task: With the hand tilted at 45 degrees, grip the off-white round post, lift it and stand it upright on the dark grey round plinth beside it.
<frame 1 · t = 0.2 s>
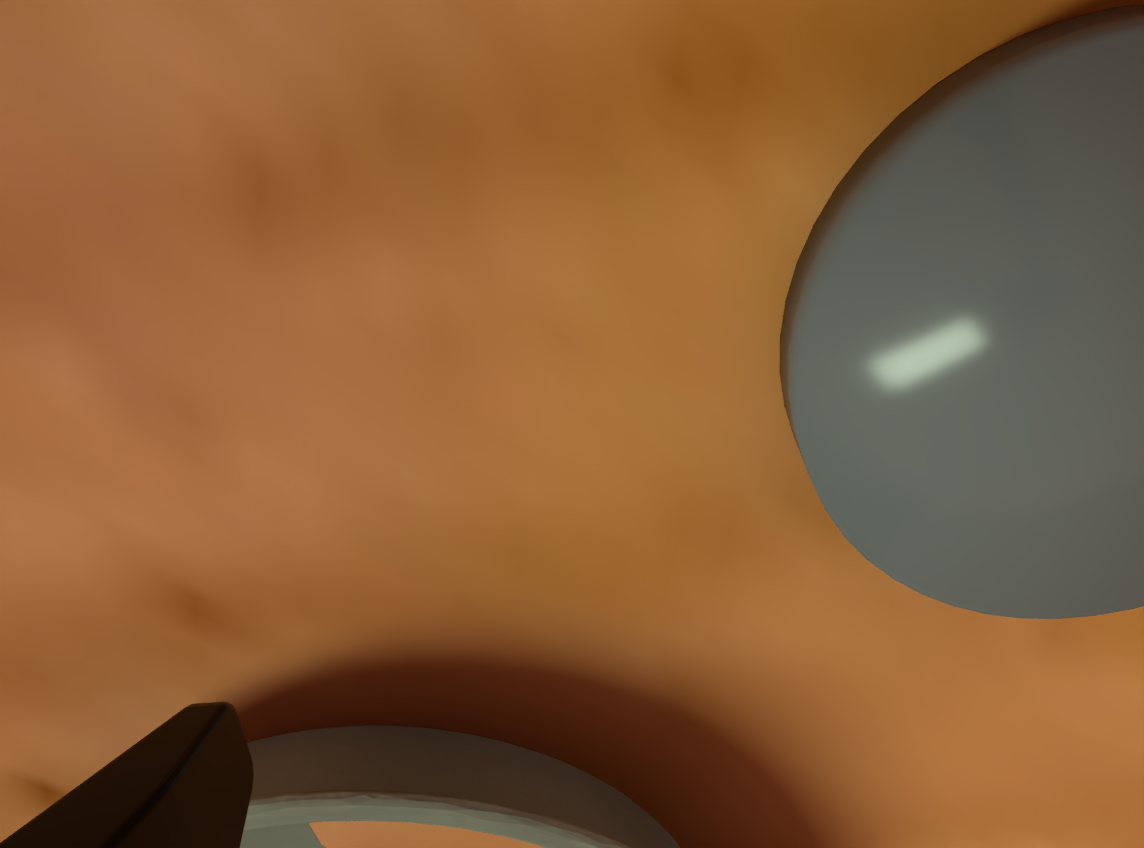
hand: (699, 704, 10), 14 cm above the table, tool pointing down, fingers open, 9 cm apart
slate plinth: (1083, 327, 24), on the table
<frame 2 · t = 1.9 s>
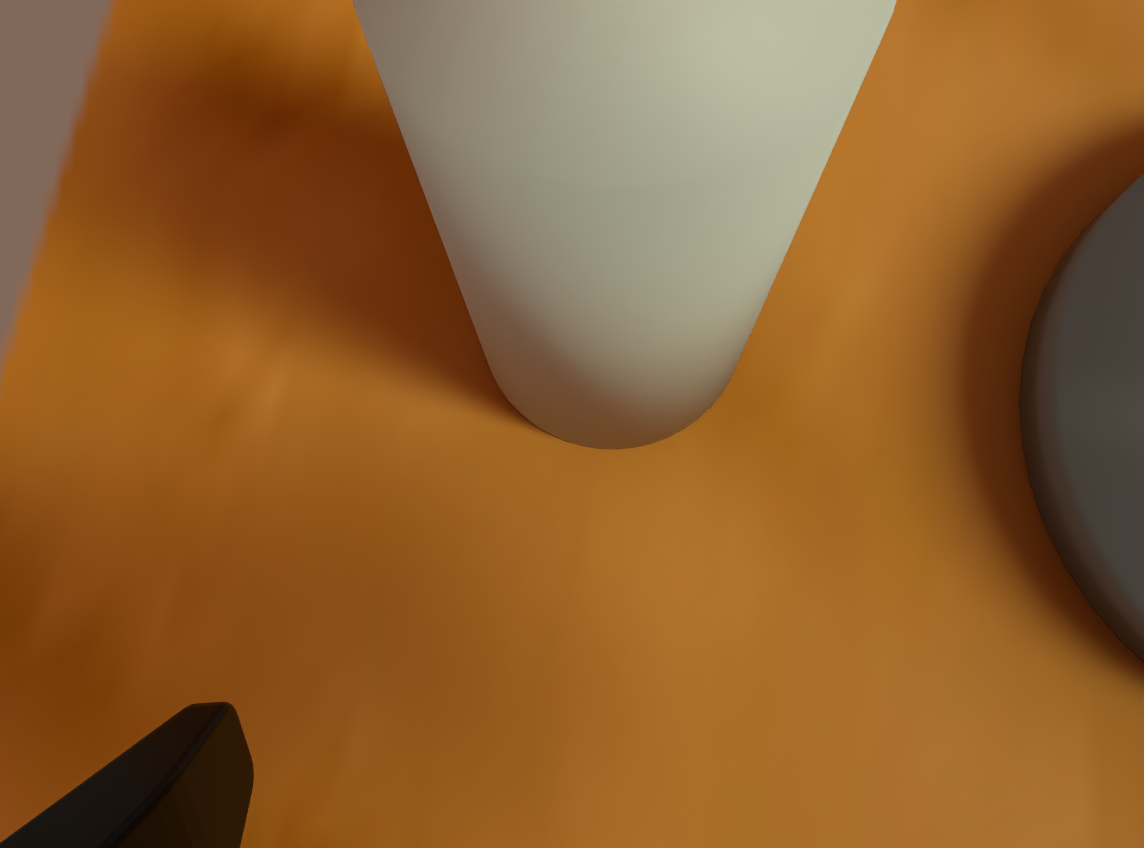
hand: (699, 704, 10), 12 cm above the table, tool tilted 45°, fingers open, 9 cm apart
white post: (611, 321, 24), on the table
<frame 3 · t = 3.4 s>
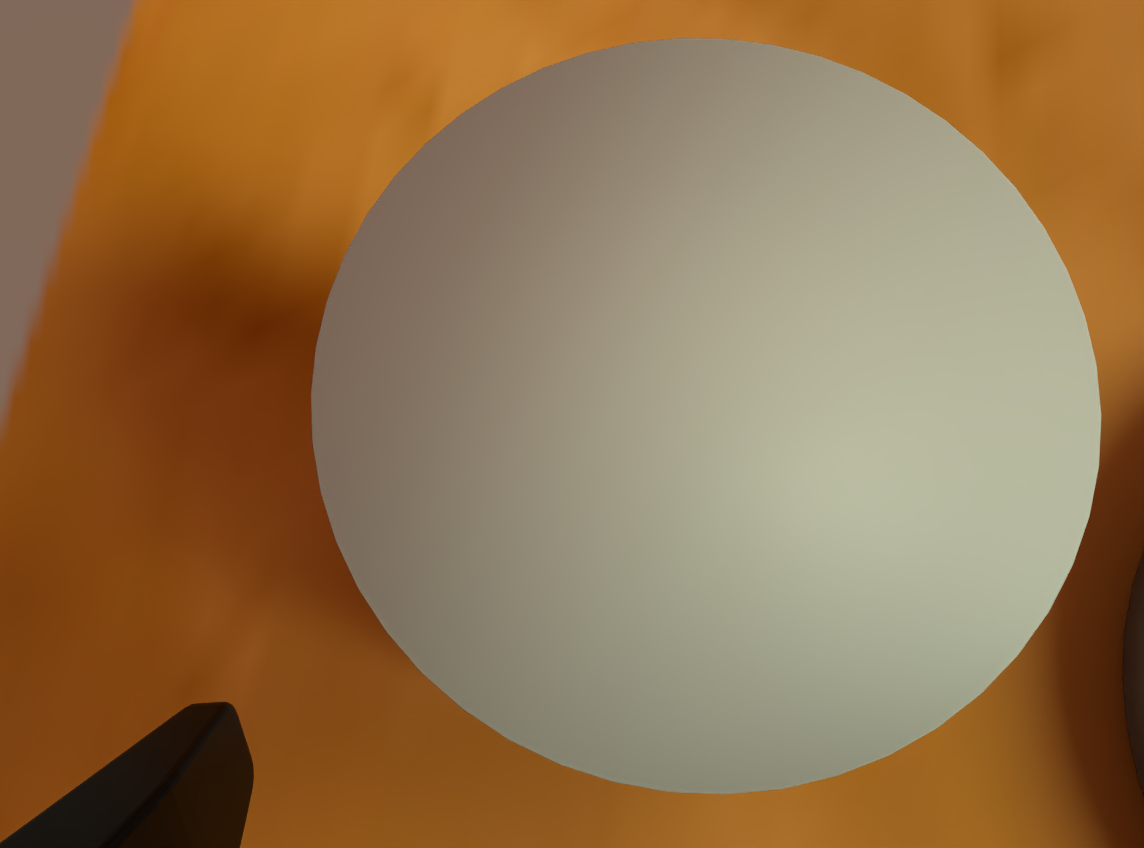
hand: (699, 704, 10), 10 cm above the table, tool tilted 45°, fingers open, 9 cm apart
white post: (643, 574, 21), on the table
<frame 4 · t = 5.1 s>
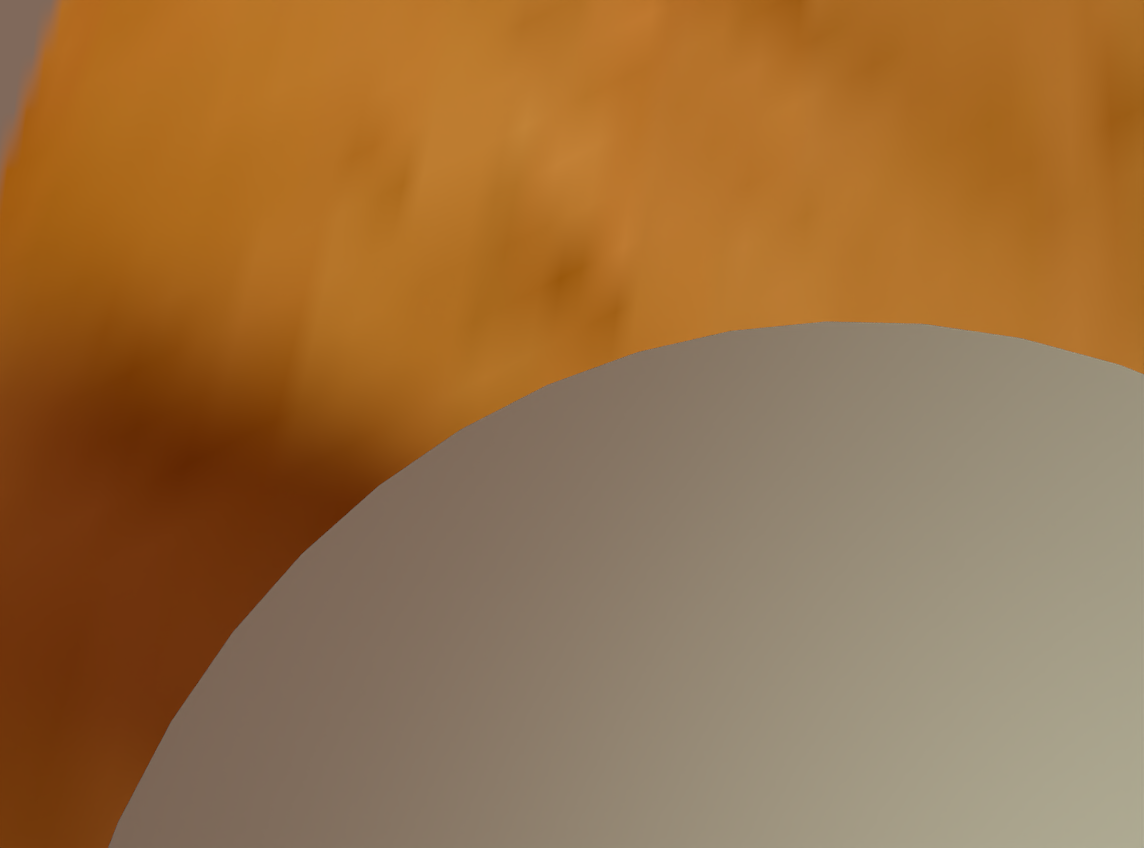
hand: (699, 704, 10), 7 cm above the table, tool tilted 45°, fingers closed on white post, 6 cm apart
white post: (670, 792, 16), on the table, touching gripper
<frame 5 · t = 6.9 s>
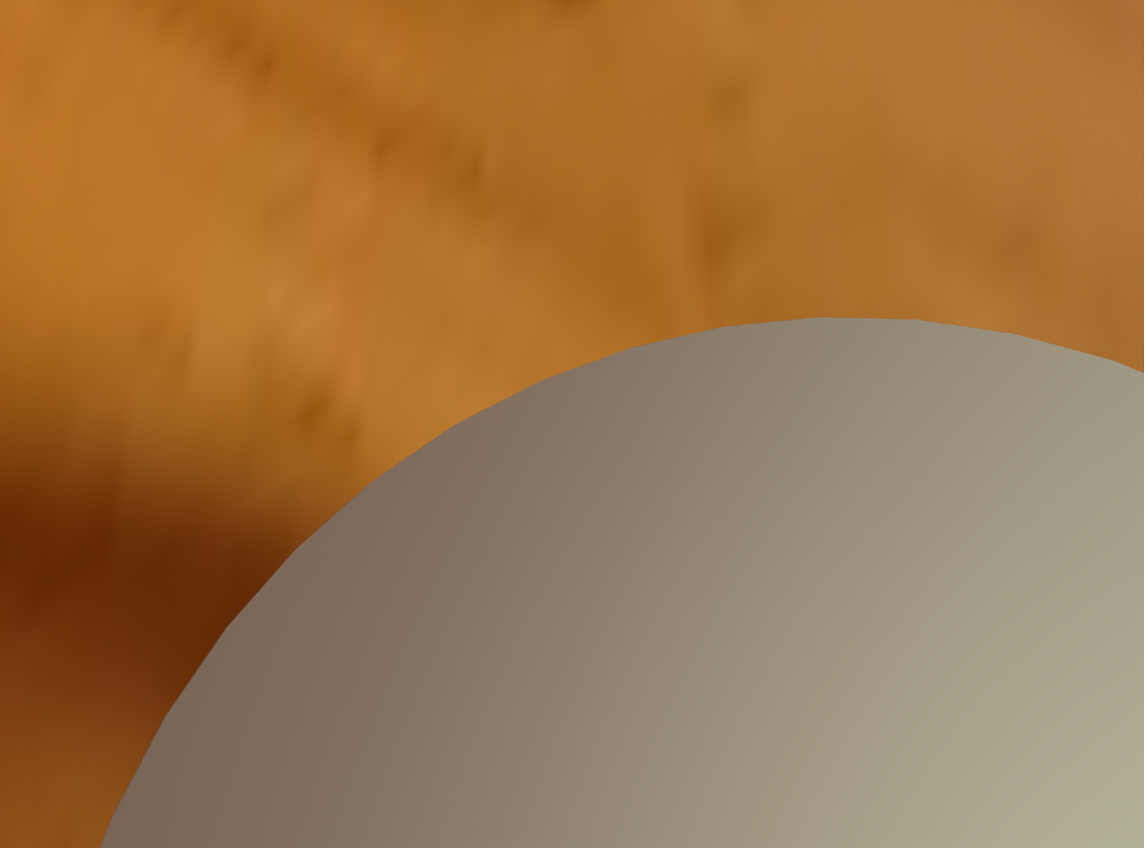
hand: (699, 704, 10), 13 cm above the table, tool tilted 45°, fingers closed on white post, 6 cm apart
white post: (668, 791, 16), point 6 cm above the table, touching gripper
when the fingers open (10 cm above the table, at t = 9.0 s): white post drops 1 cm, resting on slate plinth.
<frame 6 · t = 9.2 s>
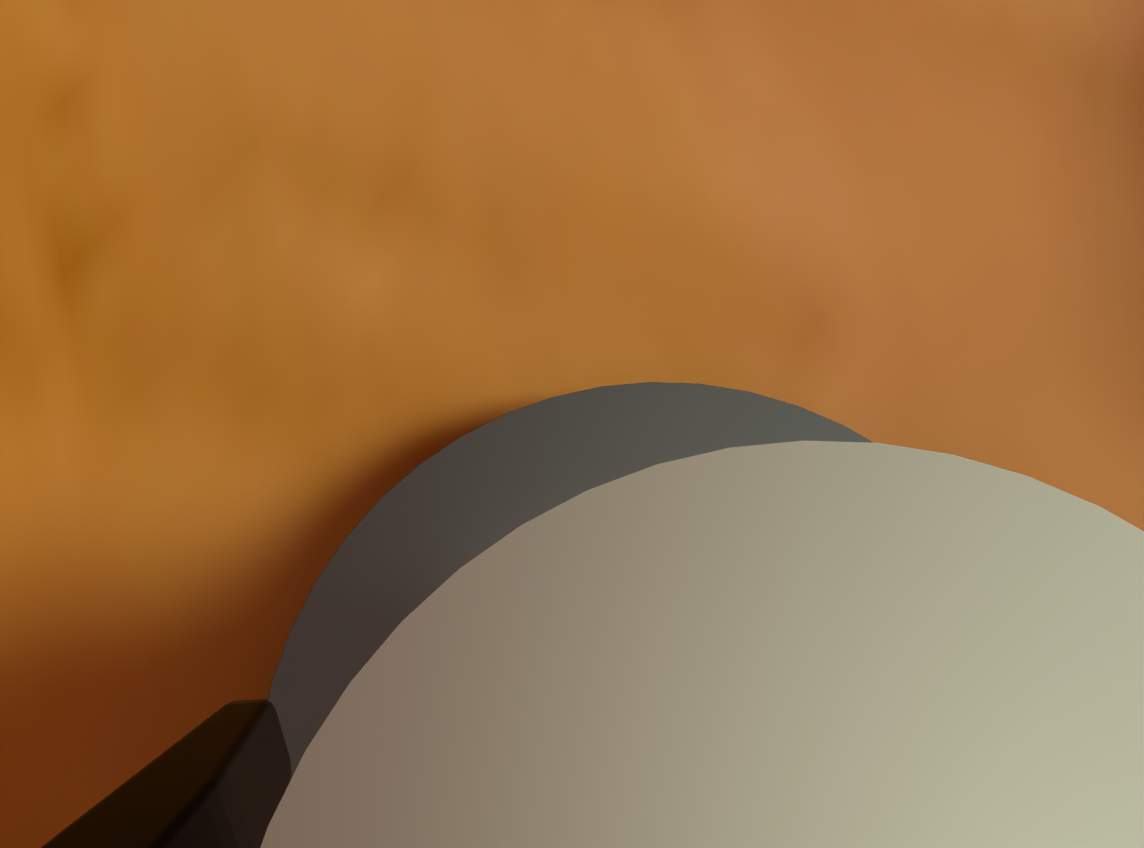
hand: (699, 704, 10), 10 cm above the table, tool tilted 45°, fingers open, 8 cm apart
white post: (667, 787, 17), point 2 cm above the table, touching slate plinth
slate plinth: (660, 772, 19), on the table
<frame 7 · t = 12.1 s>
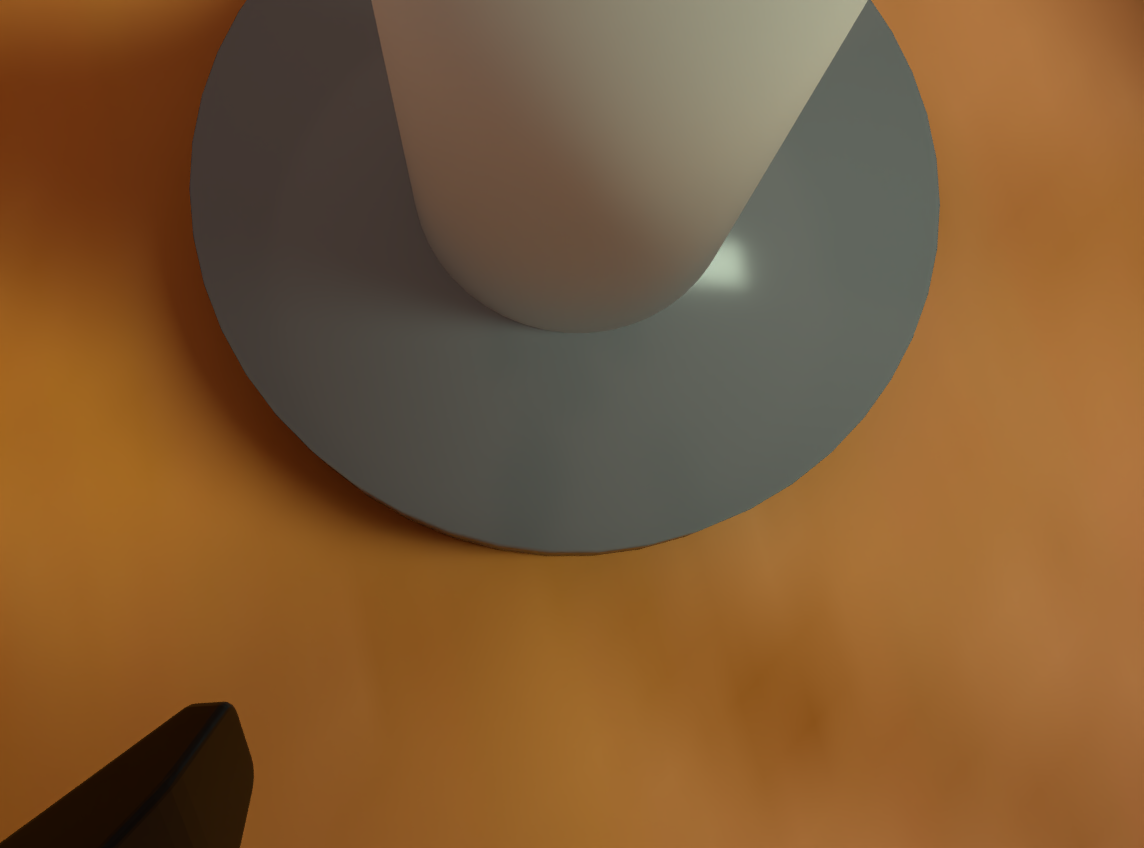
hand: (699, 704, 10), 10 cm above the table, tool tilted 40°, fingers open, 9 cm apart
white post: (574, 177, 19), point 2 cm above the table, touching slate plinth
slate plinth: (566, 213, 21), on the table
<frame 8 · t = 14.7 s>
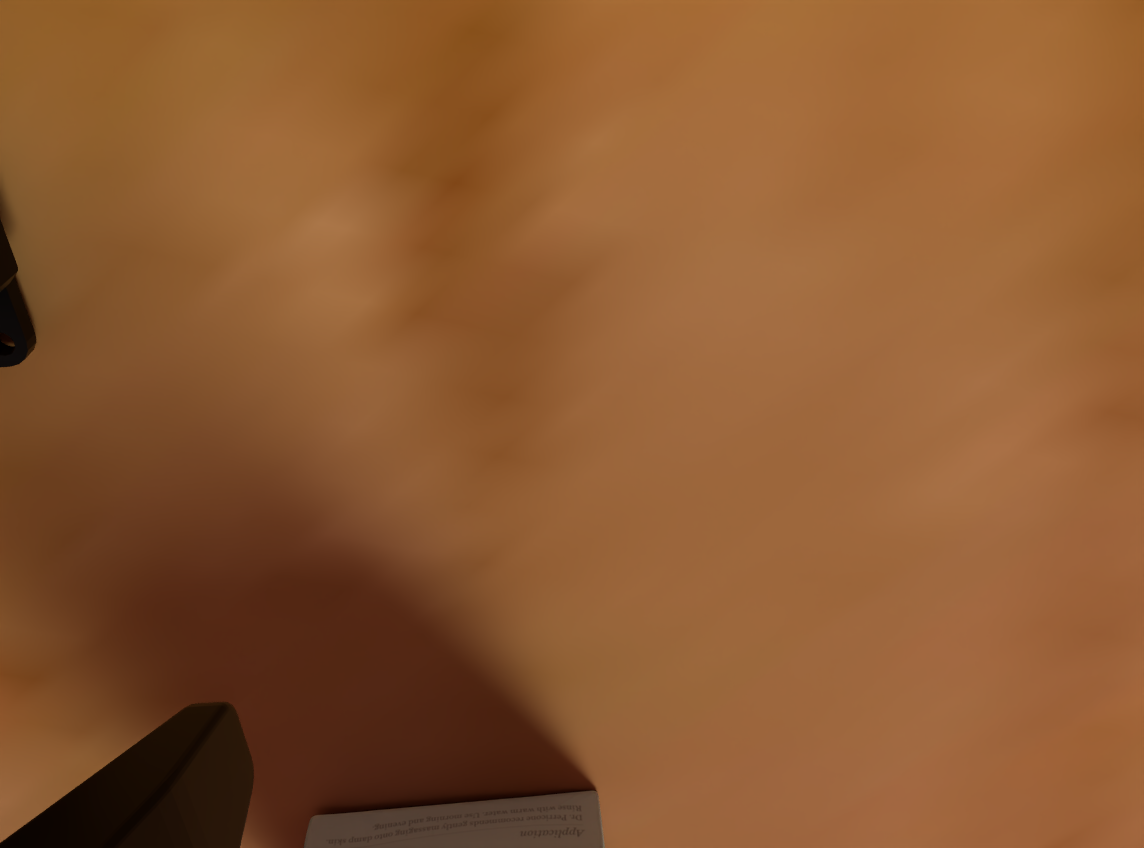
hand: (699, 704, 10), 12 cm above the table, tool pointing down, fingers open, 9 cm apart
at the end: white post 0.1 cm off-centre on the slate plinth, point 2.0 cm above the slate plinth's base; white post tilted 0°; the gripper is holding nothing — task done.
